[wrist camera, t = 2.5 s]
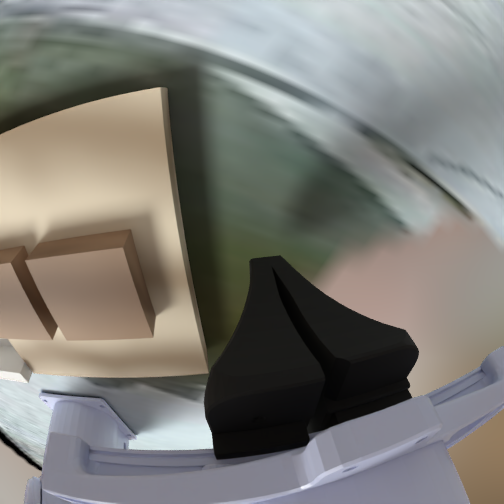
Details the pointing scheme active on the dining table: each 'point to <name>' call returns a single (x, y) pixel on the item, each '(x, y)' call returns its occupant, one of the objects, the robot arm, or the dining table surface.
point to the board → (106, 224)
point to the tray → (12, 364)
